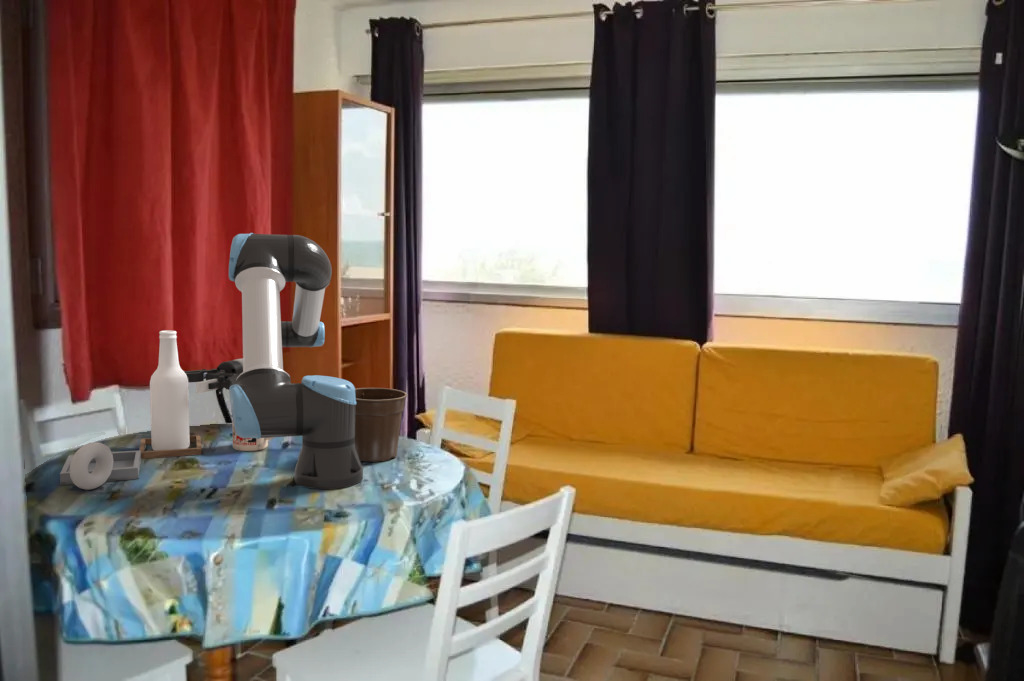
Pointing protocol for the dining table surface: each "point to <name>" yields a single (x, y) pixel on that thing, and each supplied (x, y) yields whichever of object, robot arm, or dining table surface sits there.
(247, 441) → the teacup with lid
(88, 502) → the dining table surface
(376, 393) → the plant pot
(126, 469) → the tray
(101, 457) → the donut
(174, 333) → the alcohol
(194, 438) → the square wooden frame
